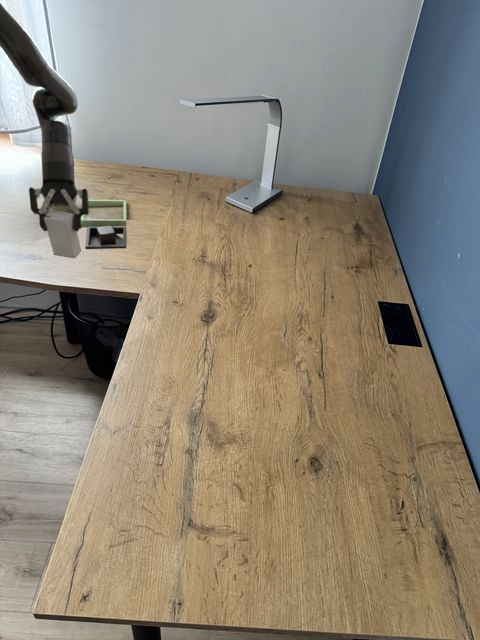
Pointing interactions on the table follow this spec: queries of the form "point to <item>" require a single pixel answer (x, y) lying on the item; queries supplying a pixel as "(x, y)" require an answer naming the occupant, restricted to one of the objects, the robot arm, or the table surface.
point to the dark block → (106, 235)
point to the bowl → (64, 208)
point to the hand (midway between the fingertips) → (61, 230)
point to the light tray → (90, 222)
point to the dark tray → (94, 244)
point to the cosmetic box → (62, 234)
